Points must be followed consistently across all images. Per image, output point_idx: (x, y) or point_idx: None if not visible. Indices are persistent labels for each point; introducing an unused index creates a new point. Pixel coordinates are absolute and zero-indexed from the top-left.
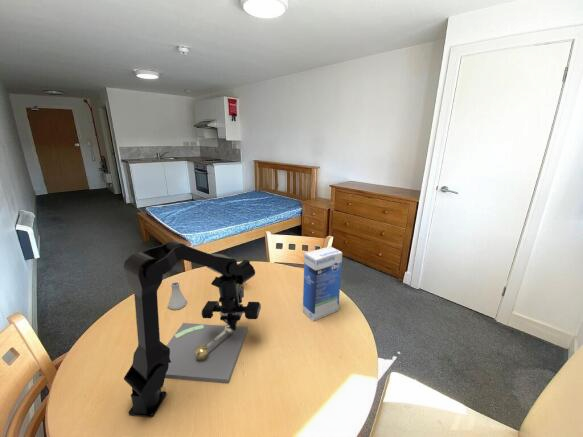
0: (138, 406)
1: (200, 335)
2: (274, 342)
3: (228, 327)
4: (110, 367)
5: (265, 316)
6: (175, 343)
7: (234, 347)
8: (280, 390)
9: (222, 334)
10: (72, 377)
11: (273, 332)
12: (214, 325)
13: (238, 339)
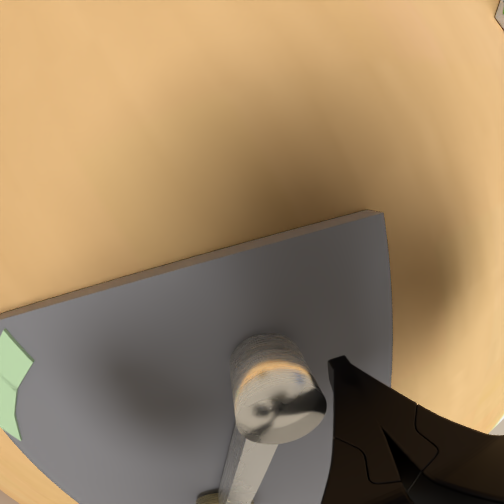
0: None
1: (78, 417)
2: (500, 255)
3: (289, 427)
4: (25, 490)
5: (399, 27)
6: (48, 461)
7: None
8: (488, 405)
9: (263, 459)
10: (14, 496)
11: (490, 180)
12: (64, 308)
13: (362, 366)
